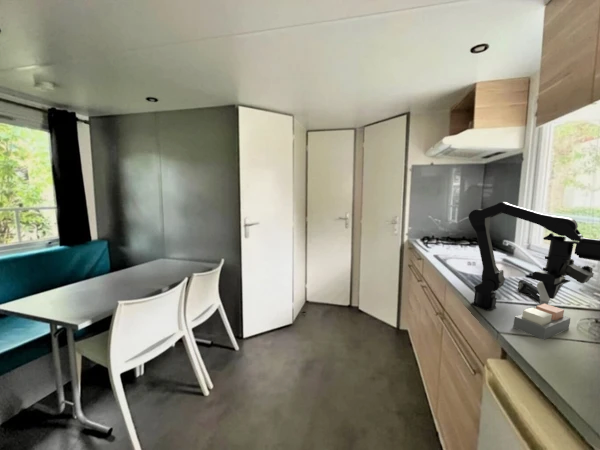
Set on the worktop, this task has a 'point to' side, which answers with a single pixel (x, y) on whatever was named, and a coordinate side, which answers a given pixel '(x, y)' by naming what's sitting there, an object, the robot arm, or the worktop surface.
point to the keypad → (541, 327)
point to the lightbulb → (543, 293)
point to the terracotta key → (551, 311)
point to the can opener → (528, 289)
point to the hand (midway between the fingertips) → (551, 298)
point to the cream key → (537, 316)
